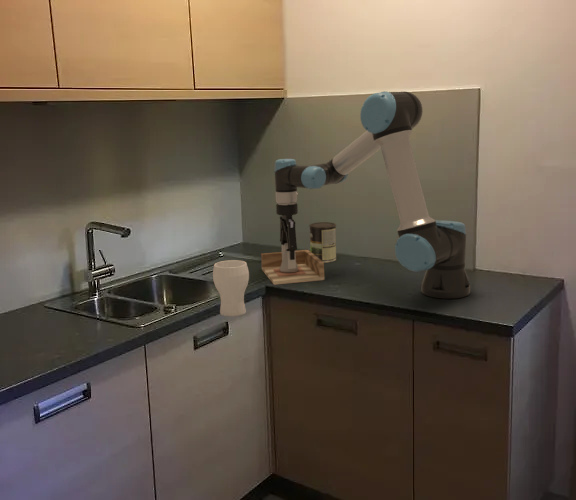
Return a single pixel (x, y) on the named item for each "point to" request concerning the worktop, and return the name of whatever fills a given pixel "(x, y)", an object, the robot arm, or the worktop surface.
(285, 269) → the flask
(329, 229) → the coffee can
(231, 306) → the cup
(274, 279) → the tray
